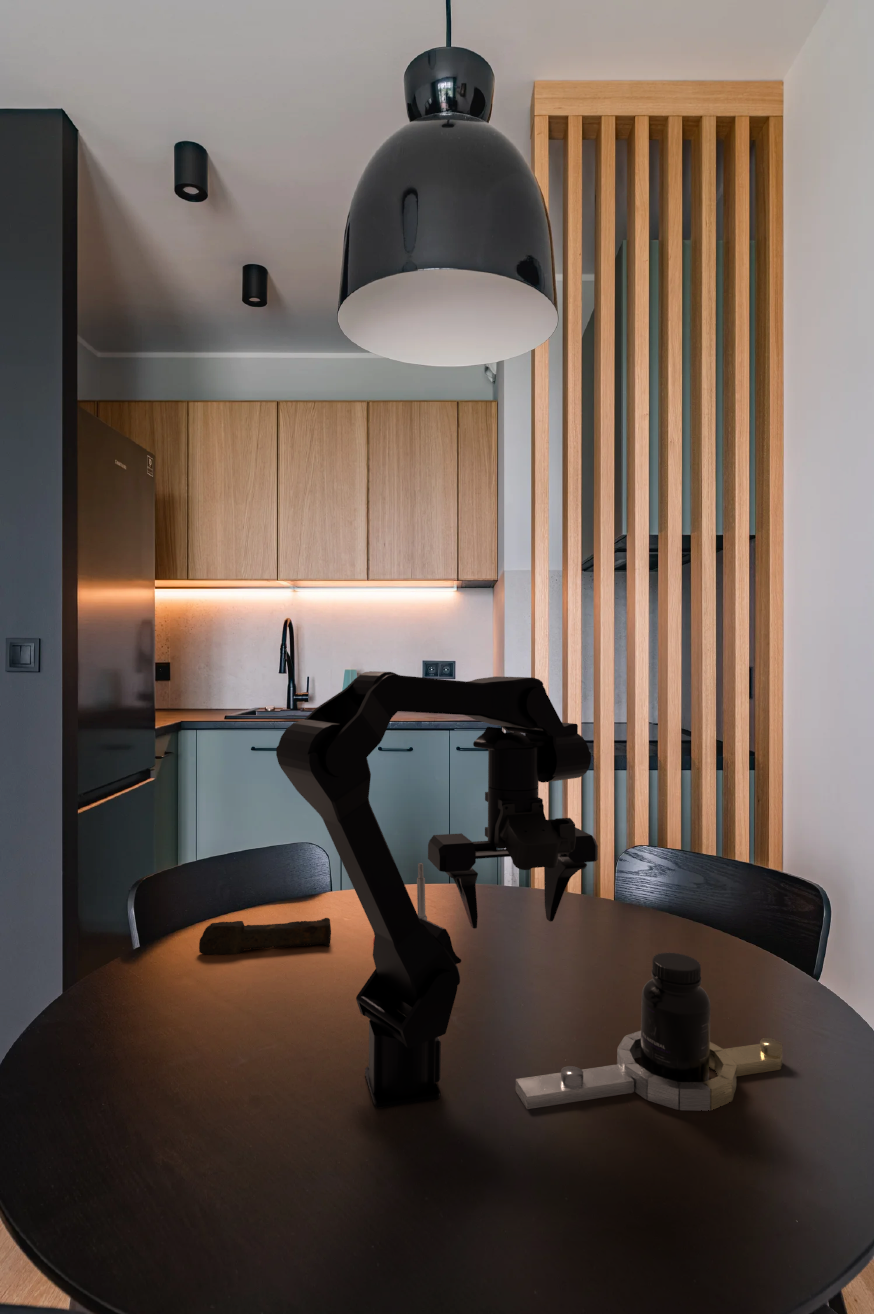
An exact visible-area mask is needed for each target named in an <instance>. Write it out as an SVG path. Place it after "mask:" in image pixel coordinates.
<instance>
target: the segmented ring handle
mask: <svg viewBox="0 0 874 1314" xmlns="http://www.w3.org/2000/svg"><path fill="white" fill-rule="evenodd" d="M616 1050H617V1052H616V1055H617V1058H616V1064H611V1065H604V1066H598V1067H590V1068H585V1069H583V1068H582V1069H581V1068H579V1067H577V1066H574V1065H573V1066H572V1065H567V1066H564V1067H562V1068H561V1069H560V1072H557V1073H556V1072H555V1073H548V1074H543V1075H542V1074H541V1075H536V1076H529V1077H521V1078H515V1092H516V1094H517V1096H518V1097H519V1099H520V1100H521V1103H522V1104H523V1106H524V1107H525V1108H526V1109H527V1110H530V1109H536V1108H537V1109H538V1108H544V1107H550V1106H556V1105H562V1104H571V1103H575V1102H581V1101H583V1102H584V1101H588V1100H594V1099H595V1100H596V1099H603V1098H606V1097H607V1098H608V1097H614V1096H620V1095H626V1094H632V1093H636V1094H637V1095H639V1096H641V1098H643V1099H645V1100H646V1101H649V1102H651V1103H654V1104H658V1105H661V1106H665V1107H668V1108H671V1109H674V1110H676V1111H677V1110H679V1111H698V1112H699V1111H701V1110H702V1111H703V1112H704V1111H706V1112H709V1111H711V1110H710V1088H709V1087H707V1086H708V1085H704V1084H703V1083H705V1082H677V1081H673V1080H670V1079H666V1078H663V1077H659V1076H656V1075H653V1074H652V1073H650V1072H649V1071H647V1070H645V1069H644V1068H642V1067H641V1065H639V1064H638V1063H637V1062H636V1061H635V1060H636V1059H638V1058H640V1057H641V1056H640V1053H641V1030H638V1031H635V1032H633V1033H629V1034H627V1035H625V1036H623V1038H622V1040H621V1041H620V1043H619V1045H618V1046H617V1049H616ZM708 1110H709V1111H708Z"/></svg>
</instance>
